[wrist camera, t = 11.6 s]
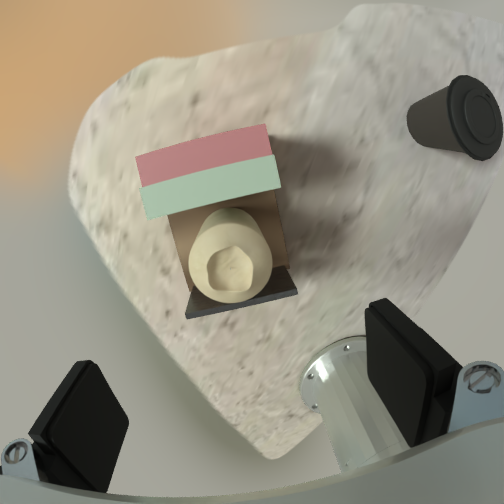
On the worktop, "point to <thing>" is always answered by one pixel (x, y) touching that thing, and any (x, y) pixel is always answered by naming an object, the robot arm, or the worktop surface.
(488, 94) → the coffee cup
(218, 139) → the books
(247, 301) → the bookend
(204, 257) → the candle
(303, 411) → the worktop surface
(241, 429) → the worktop surface
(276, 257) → the brown wooden board
